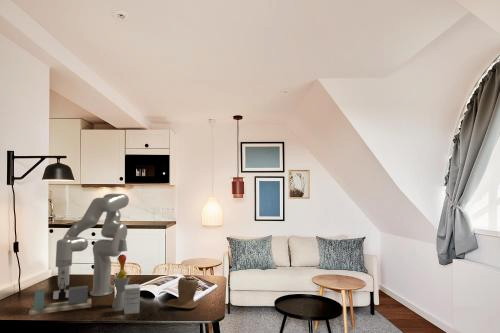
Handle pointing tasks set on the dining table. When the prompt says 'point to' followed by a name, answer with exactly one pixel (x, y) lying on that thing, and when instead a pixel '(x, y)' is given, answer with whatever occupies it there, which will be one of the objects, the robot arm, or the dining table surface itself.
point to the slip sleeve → (78, 295)
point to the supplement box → (131, 298)
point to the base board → (59, 307)
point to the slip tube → (56, 294)
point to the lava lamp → (120, 277)
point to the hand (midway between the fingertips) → (62, 298)
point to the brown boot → (185, 294)
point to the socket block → (39, 299)
